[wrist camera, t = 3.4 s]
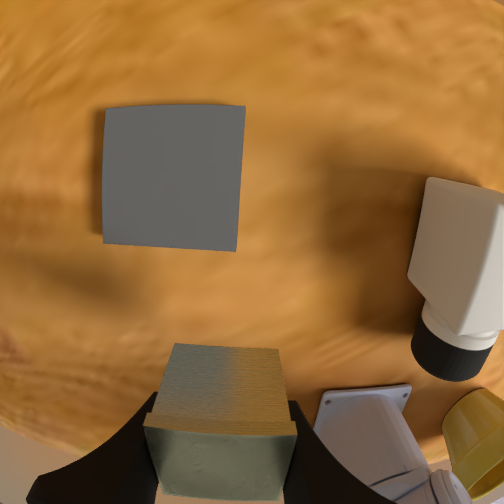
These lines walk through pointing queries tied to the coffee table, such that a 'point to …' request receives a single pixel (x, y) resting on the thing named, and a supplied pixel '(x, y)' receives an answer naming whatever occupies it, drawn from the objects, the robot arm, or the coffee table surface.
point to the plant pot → (476, 441)
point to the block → (172, 176)
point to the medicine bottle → (458, 278)
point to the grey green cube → (221, 424)
